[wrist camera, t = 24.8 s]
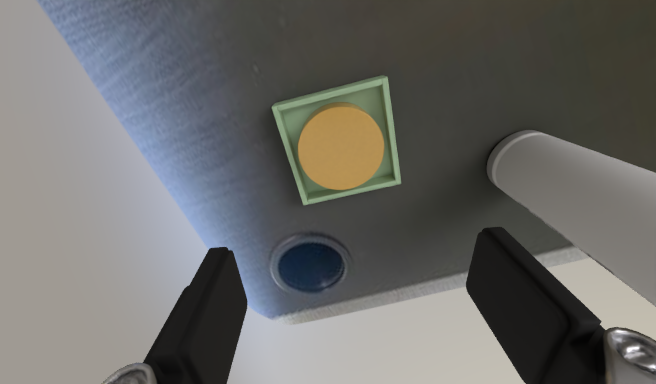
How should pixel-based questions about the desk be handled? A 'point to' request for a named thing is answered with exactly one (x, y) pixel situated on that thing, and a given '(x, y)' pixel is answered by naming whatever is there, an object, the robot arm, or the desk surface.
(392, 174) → the tray
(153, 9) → the desk surface
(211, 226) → the desk surface
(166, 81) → the desk surface
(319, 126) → the lid
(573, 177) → the travel mug
